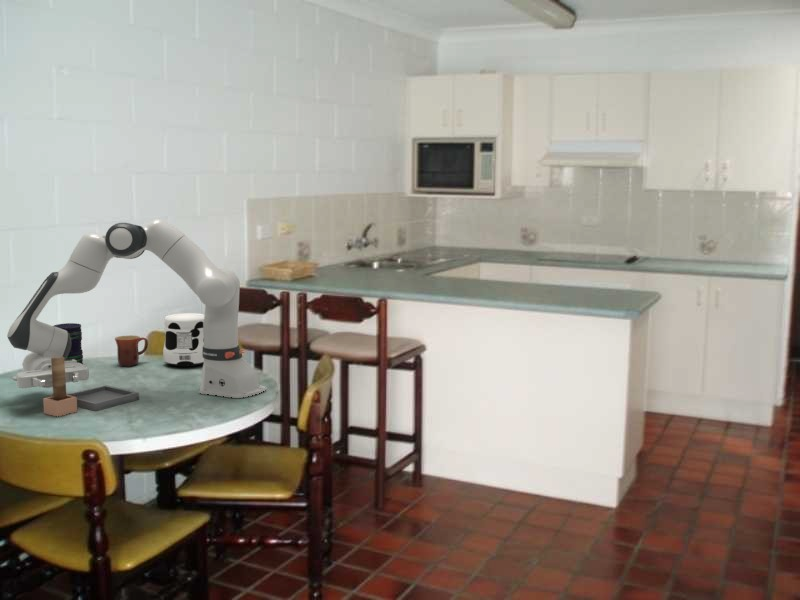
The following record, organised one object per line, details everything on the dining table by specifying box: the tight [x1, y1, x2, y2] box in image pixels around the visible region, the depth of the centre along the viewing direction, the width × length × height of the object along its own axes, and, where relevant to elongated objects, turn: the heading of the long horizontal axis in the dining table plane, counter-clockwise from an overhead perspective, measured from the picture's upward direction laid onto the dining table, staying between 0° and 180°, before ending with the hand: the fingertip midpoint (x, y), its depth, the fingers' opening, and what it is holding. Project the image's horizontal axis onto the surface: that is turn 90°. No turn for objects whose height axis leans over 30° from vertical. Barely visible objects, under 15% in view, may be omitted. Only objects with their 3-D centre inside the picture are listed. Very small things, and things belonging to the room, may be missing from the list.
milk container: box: [162, 312, 205, 367], centre depth 316 cm, size 17×17×18 cm
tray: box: [66, 384, 140, 412], centre depth 266 cm, size 16×16×2 cm
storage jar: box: [53, 322, 84, 365], centre depth 312 cm, size 10×10×15 cm
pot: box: [42, 394, 78, 418], centre depth 253 cm, size 7×7×4 cm
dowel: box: [51, 357, 67, 401], centre depth 252 cm, size 4×4×16 cm
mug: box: [114, 335, 149, 367], centre depth 316 cm, size 12×9×10 cm
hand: (59, 381), depth 252 cm, fingers open, 8 cm apart
